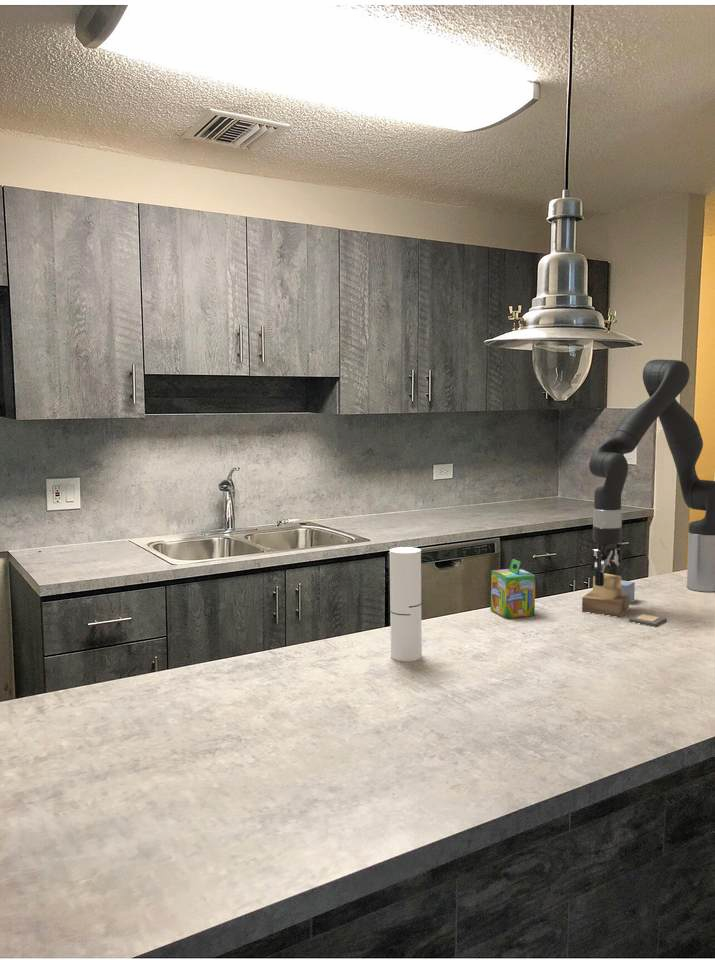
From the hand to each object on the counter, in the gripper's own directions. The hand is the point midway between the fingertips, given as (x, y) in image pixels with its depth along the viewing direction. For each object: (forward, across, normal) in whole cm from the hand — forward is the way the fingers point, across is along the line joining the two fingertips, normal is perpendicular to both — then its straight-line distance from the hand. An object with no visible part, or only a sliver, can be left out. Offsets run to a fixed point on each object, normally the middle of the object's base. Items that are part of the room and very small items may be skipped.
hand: (606, 582), depth 211 cm
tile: (+8, +3, +13) cm, 15 cm away
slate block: (+8, -12, -1) cm, 14 cm away
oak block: (+4, 0, 0) cm, 4 cm away
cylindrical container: (+8, +65, -18) cm, 68 cm away
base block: (+8, 0, 0) cm, 8 cm away
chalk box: (+8, +19, -18) cm, 27 cm away
